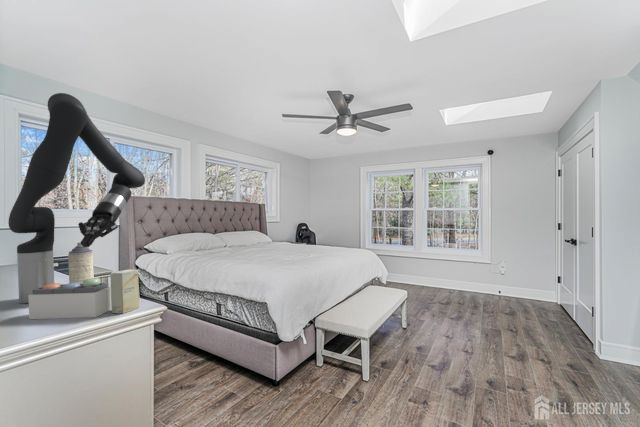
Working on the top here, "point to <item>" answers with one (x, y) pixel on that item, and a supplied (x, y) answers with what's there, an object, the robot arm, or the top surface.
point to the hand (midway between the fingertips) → (84, 245)
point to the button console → (69, 302)
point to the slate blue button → (71, 285)
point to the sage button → (91, 282)
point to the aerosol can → (80, 264)
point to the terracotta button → (51, 286)
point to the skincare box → (124, 291)
